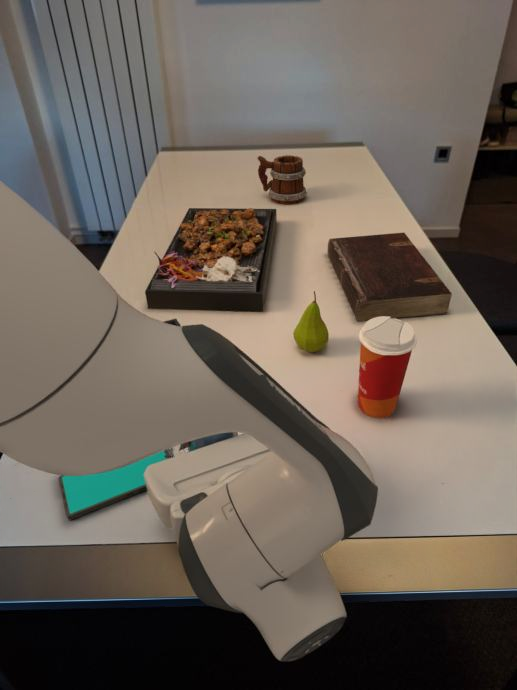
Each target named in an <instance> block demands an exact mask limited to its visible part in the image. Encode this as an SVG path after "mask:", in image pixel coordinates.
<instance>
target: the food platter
mask: <svg viewBox="0 0 517 690" xmlns="http://www.w3.org/2000/svg"><path fill="white" fill-rule="evenodd" d="M277 215H278V214H277V208H253V207H248V208H224V207H223V208H221V207H220V208H218V207H215V208H214V207H213V208H212V207H210V208H209V207H207V208H206V207H193V208H192V207H188V209H187V211H186V213H185V215H184V217H183V219H182V220H181V223H180V225H179V226H178V228H177V229H176V230H177V231H176V232H175V234H174V235H173V237H172V240H171V241H170V243H169V245H168V246H167V249H166V251H165V253H164V255H163V257H162V258H160V256H159V255H158V253H157V252H156V251H155V250H153V252H154V254H155V255H156V257H157V259H158V263H159V264H158V265H157V267H156V269H155V271H154V273H153V275H152V277H151V280H150V281H149V283H148V285H147V287H146V288H145V291H144V294H145V297H146V299H145V300H146V305H147V309H148V310H175V311H180V310H181V311H211V312H213V311H216V312H217V311H218V312H251V313H253V312H255V313H264V309H265V302H266V295H267V289H268V284H269V283H268V281H269V276H270V270H271V263H272V256H273V249H274V243H275V237H276V232H277V223H278V221H277V219H278V217H277Z"/></svg>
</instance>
